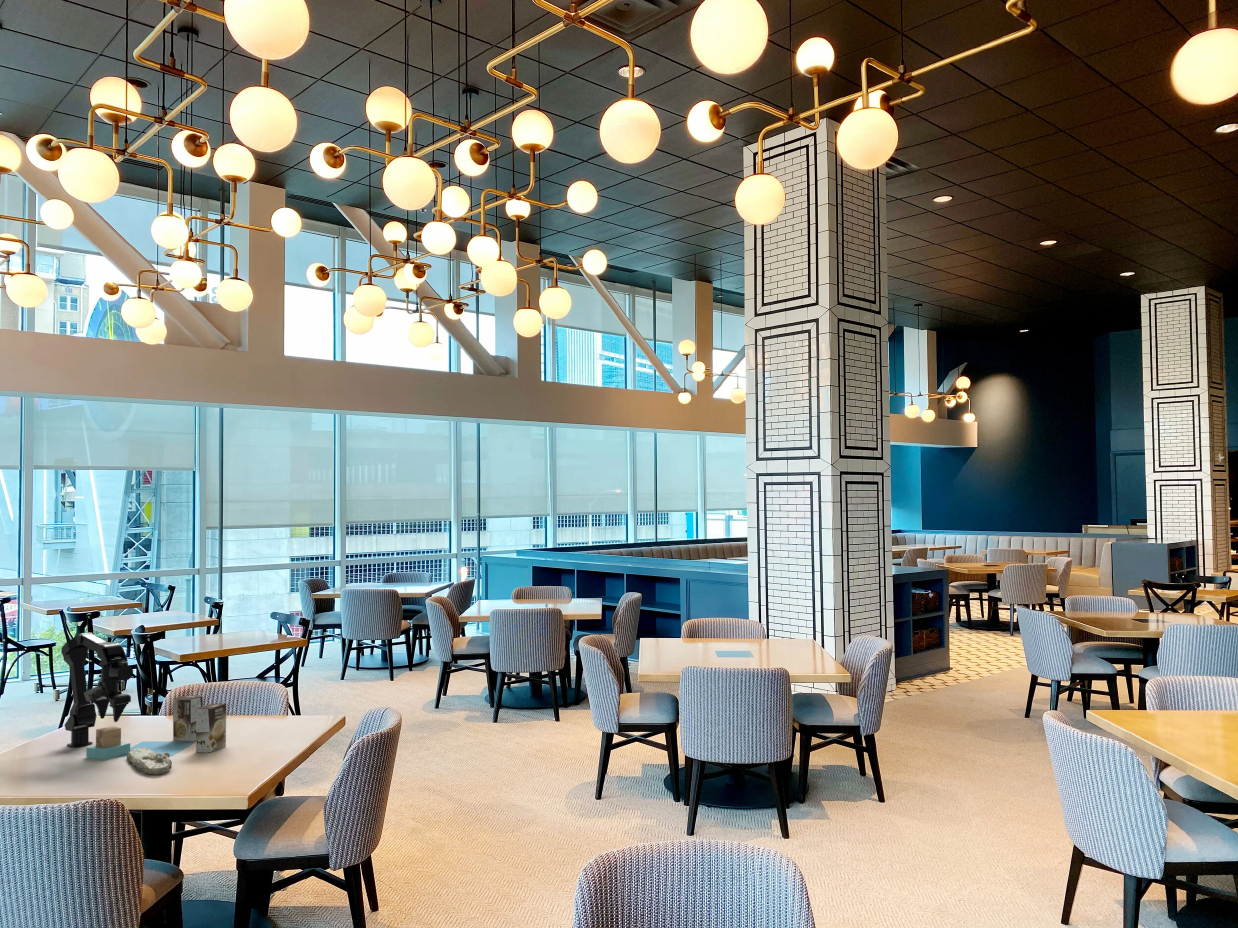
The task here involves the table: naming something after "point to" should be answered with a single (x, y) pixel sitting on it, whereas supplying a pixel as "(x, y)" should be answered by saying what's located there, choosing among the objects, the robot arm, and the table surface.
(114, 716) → the robot arm
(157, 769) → the long grey stone
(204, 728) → the coffee box
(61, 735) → the table surface
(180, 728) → the coffee box
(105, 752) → the teal plinth
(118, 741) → the walnut block
